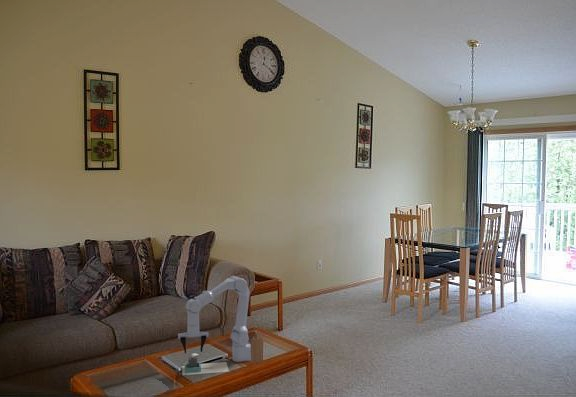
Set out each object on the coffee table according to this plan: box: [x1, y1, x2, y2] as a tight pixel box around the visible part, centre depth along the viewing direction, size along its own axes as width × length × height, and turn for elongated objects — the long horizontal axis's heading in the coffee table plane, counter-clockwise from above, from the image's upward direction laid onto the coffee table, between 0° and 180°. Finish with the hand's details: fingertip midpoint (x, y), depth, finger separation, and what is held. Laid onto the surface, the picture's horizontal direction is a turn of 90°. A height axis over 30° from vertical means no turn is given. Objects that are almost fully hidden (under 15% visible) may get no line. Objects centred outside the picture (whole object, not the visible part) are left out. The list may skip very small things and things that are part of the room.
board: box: [181, 361, 230, 376], centre depth 230 cm, size 22×13×3 cm, turn 103°
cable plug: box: [187, 355, 198, 368], centre depth 228 cm, size 4×4×6 cm
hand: (193, 351), depth 229 cm, fingers open, 7 cm apart
